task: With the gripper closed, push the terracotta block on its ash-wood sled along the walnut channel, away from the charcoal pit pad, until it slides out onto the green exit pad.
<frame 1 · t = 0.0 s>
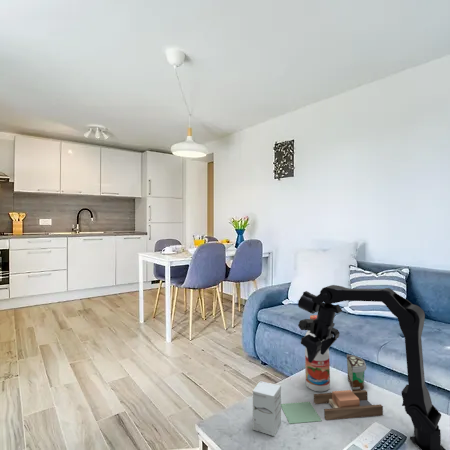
hand: (316, 358, 112), 15 cm above the table, tool pointing down, fingers open, 9 cm apart
exit pad: (300, 412, 105), on the table
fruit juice: (317, 386, 122), on the table
trap pit: (364, 407, 107), on the table
food container: (358, 386, 122), on the table
channel: (347, 408, 107), on the table
sled: (344, 401, 107), point 3 cm above the table, slide at 0.0 cm
supplement box: (267, 427, 98), on the table
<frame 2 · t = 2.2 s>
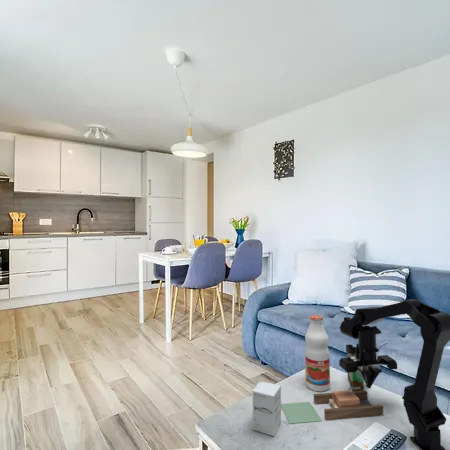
hand: (368, 387, 107), 7 cm above the table, tool pointing down, fingers closed
nothing on the table moved.
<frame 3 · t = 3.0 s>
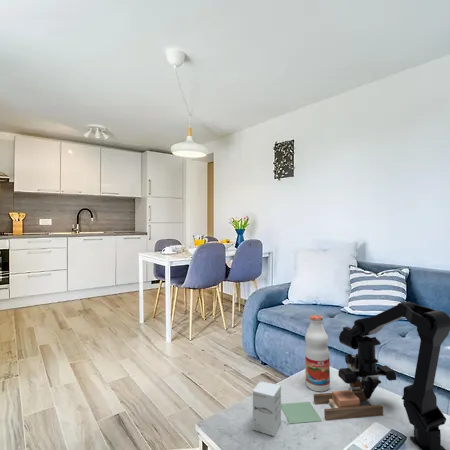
hand: (367, 398, 107), 3 cm above the table, tool pointing down, fingers closed
nothing on the table moved.
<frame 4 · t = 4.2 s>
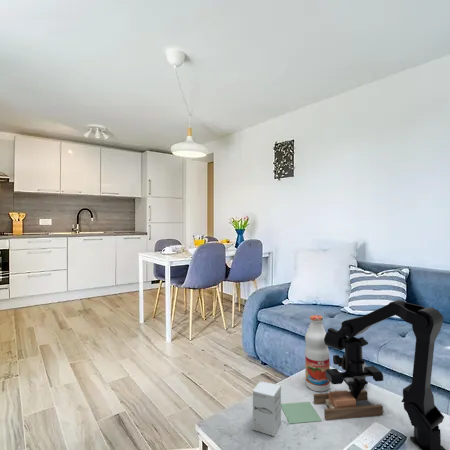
hand: (354, 399, 107), 3 cm above the table, tool pointing down, fingers closed
sled: (340, 401, 106), point 3 cm above the table, slide at 1.3 cm, touching gripper
everything else where it was.
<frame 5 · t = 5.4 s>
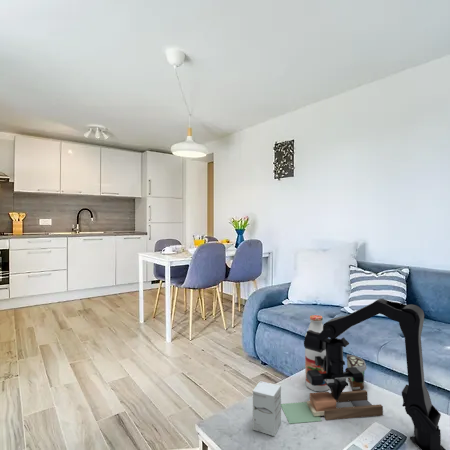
hand: (335, 400, 106), 3 cm above the table, tool pointing down, fingers closed
sled: (321, 403, 106), point 3 cm above the table, slide at 8.3 cm, touching gripper
everything else where it was.
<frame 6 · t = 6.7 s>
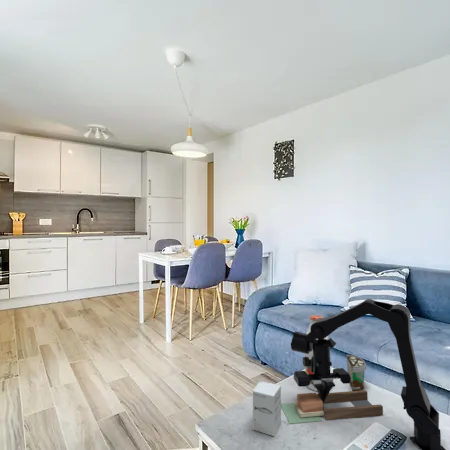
hand: (322, 401, 106), 3 cm above the table, tool pointing down, fingers closed
sled: (308, 404, 105), point 3 cm above the table, slide at 13.0 cm, touching gripper
everything else where it was.
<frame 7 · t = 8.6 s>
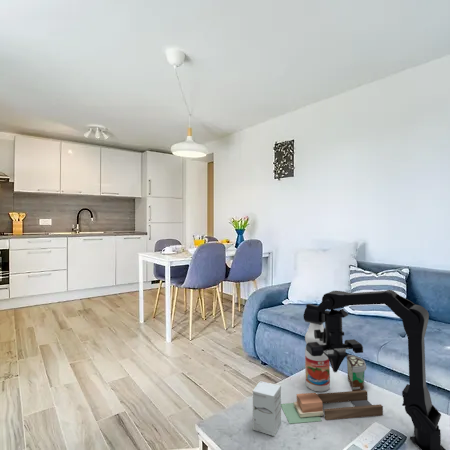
hand: (334, 371, 107), 13 cm above the table, tool pointing down, fingers closed
sled: (308, 404, 105), point 3 cm above the table, slide at 13.1 cm
everything else where it was.
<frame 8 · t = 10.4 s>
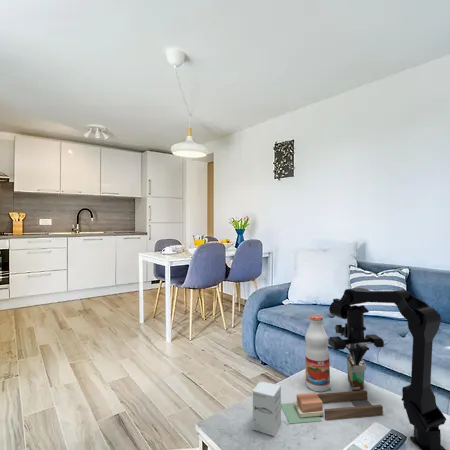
hand: (356, 365, 111), 13 cm above the table, tool pointing down, fingers closed
nothing on the table moved.
at the end: sled slide at 13.1 cm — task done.
